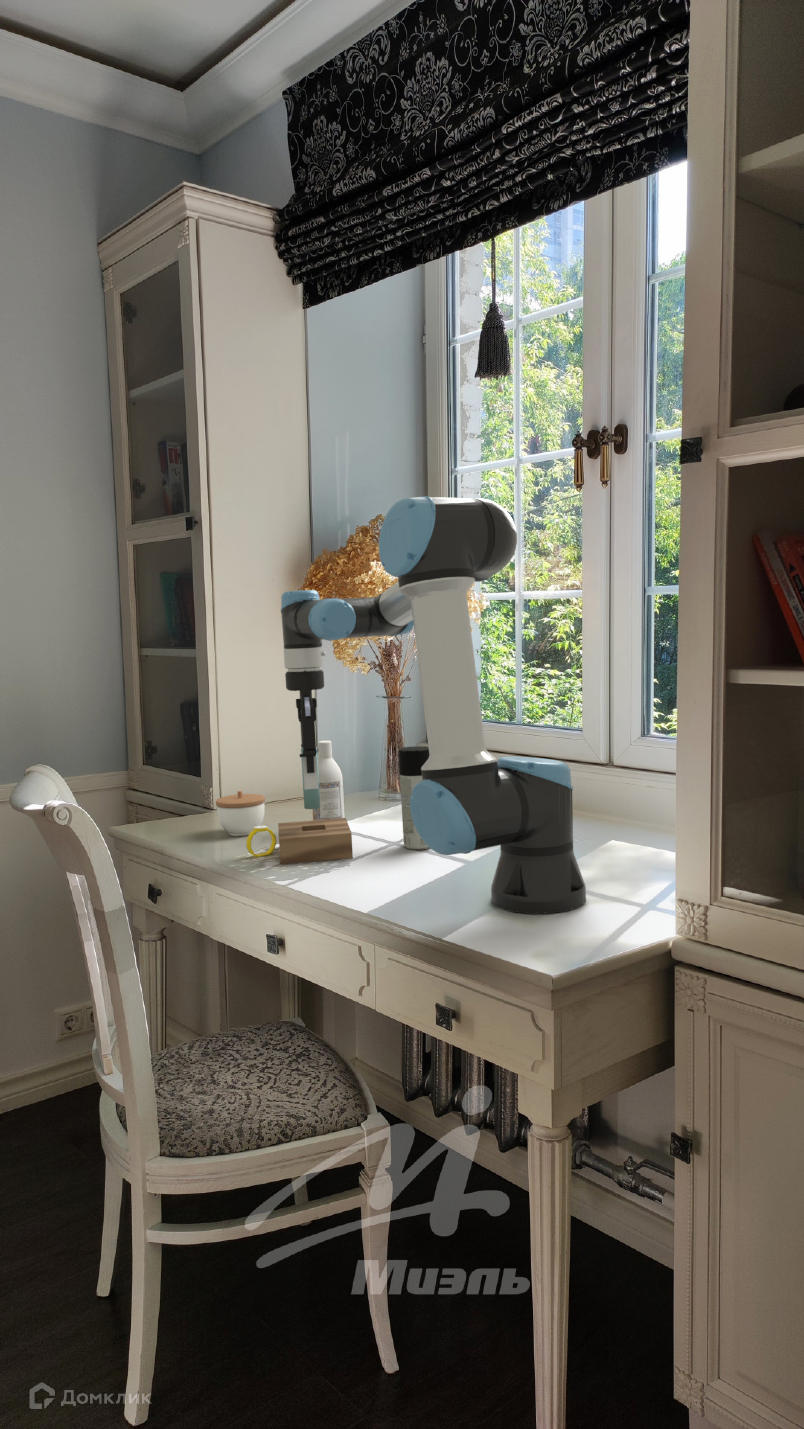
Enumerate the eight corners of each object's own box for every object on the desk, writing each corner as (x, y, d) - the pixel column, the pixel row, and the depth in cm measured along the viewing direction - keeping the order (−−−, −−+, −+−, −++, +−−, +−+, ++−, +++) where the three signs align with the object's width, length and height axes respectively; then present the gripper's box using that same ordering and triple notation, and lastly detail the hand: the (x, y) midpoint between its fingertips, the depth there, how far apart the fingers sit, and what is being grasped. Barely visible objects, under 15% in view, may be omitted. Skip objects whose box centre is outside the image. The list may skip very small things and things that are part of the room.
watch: (271, 853, 197) (271, 824, 196) (278, 855, 194) (278, 826, 194) (244, 856, 193) (244, 827, 193) (251, 859, 191) (251, 829, 191)
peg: (304, 809, 191) (301, 749, 190) (303, 806, 195) (300, 747, 193) (320, 808, 192) (317, 748, 191) (319, 805, 195) (316, 746, 194)
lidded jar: (209, 837, 212) (206, 795, 211) (232, 826, 222) (230, 786, 221) (252, 839, 208) (250, 796, 207) (275, 827, 218) (272, 786, 217)
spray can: (433, 850, 191) (429, 750, 189) (400, 850, 192) (395, 751, 190) (439, 842, 197) (434, 745, 195) (406, 842, 199) (402, 746, 197)
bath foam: (321, 827, 216) (315, 739, 214) (350, 828, 214) (345, 739, 211) (308, 835, 209) (303, 743, 207) (338, 836, 207) (333, 743, 205)
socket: (352, 858, 188) (351, 832, 188) (280, 864, 186) (278, 838, 186) (347, 841, 202) (345, 817, 201) (279, 846, 200) (278, 823, 200)
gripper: (325, 670, 183) (332, 793, 185) (321, 666, 198) (327, 778, 201) (285, 673, 182) (293, 796, 184) (284, 668, 197) (291, 781, 200)
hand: (311, 786), depth 193 cm, fingers closed on peg, 3 cm apart
